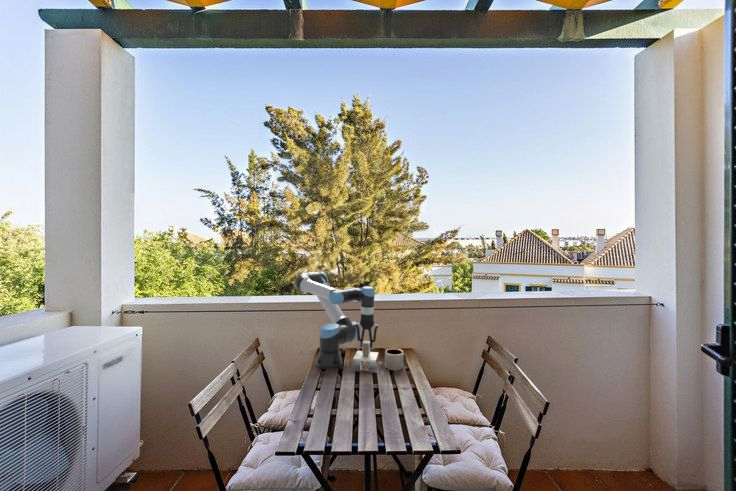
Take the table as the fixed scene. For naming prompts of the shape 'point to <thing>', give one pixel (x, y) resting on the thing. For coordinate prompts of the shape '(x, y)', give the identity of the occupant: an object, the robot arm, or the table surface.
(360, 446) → the table surface
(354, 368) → the mat
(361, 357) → the lid
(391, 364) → the planter
